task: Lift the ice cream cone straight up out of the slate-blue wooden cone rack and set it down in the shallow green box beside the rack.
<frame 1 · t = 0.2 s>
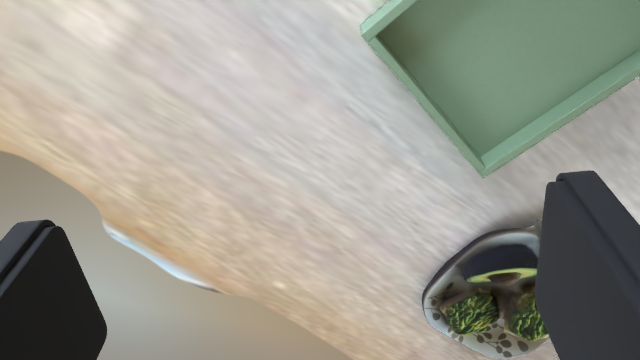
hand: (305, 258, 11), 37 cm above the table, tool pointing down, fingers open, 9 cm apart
shallow green box: (517, 27, 45), on the table
avocado toast plate: (504, 284, 60), on the table
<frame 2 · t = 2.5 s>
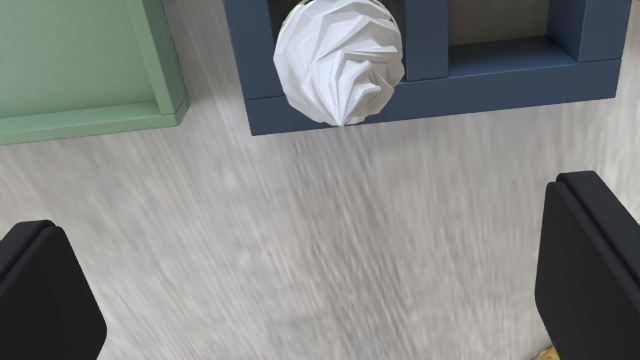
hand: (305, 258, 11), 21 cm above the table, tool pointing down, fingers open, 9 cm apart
ice cream cone: (337, 2, 29), resting in cone rack
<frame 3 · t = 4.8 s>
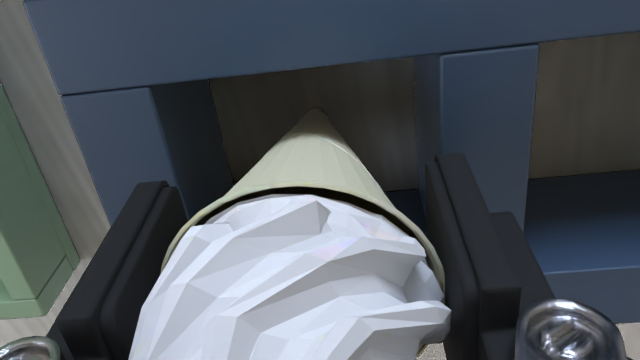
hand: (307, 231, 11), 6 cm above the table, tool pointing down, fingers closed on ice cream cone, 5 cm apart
ice cream cone: (316, 112, 17), resting in cone rack, touching gripper
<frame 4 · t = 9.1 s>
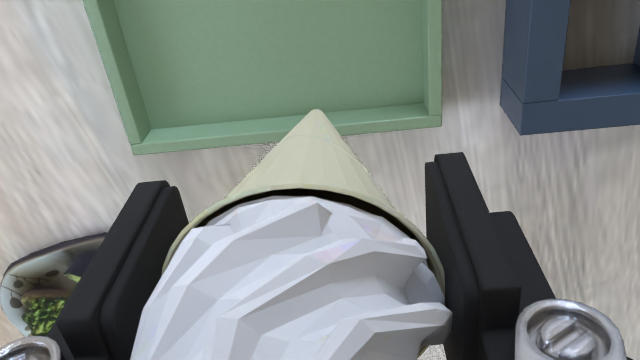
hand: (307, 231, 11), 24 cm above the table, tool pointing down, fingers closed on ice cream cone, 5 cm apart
ice cream cone: (316, 113, 17), point 18 cm above the table, touching gripper
avocado toast plate: (125, 304, 45), on the table
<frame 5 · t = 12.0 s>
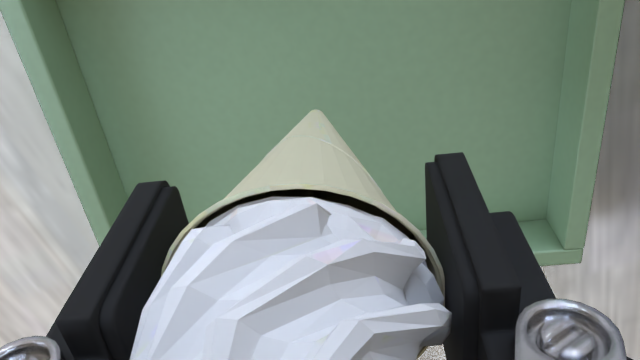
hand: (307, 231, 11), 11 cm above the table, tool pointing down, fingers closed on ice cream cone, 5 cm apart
ice cream cone: (316, 113, 17), point 5 cm above the table, touching gripper
shallow green box: (319, 60, 21), on the table
when the fingers open (7 cm above the table, at t = 13.6 s): ice cream cone moves 3 cm, resting on shallow green box.
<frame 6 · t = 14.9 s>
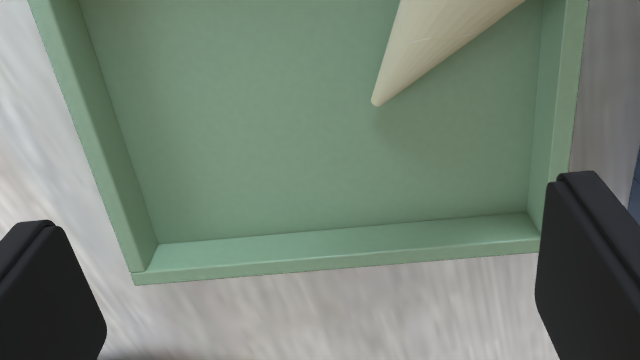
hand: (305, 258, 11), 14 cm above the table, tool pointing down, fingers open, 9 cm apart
ice cream cone: (373, 105, 23), point 1 cm above the table, touching shallow green box
shallow green box: (318, 65, 23), on the table
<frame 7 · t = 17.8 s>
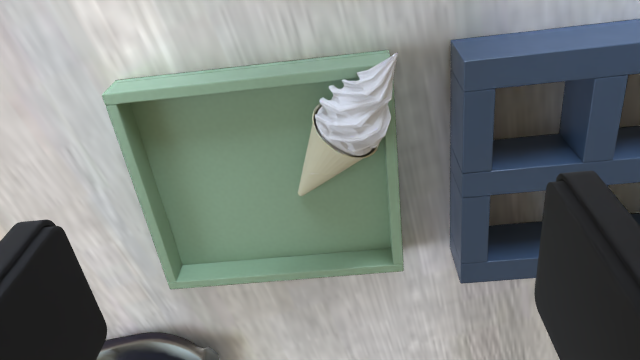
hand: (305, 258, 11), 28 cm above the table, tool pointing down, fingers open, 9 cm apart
cone rack: (571, 143, 41), on the table
ice cream cone: (299, 195, 42), point 1 cm above the table, touching shallow green box
shallow green box: (270, 172, 42), on the table
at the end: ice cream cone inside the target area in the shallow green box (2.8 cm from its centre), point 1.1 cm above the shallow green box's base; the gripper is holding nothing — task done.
